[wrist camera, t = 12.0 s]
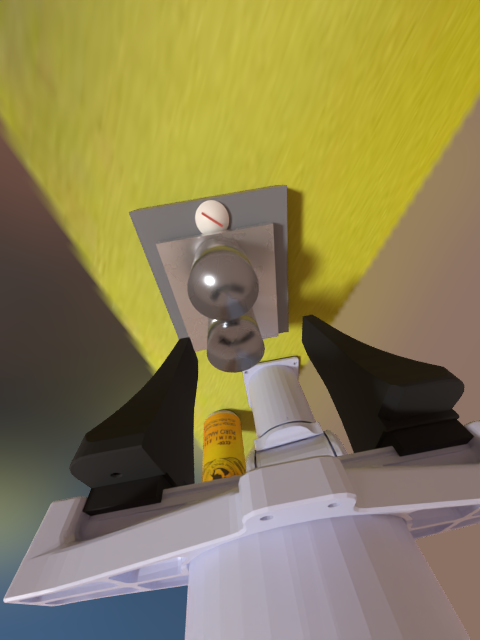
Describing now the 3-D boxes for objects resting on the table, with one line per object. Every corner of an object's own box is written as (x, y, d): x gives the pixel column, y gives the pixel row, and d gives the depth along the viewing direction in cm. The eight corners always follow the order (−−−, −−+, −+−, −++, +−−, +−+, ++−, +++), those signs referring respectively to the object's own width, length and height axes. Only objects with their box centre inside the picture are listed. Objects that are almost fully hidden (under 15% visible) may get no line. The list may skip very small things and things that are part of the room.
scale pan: (276, 331, 23) (278, 336, 22) (194, 346, 22) (194, 351, 22) (270, 222, 16) (273, 223, 16) (158, 241, 16) (155, 244, 16)
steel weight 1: (251, 284, 18) (262, 313, 14) (202, 294, 18) (198, 326, 14) (243, 231, 16) (254, 247, 12) (186, 243, 16) (177, 263, 12)
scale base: (282, 319, 26) (289, 334, 23) (185, 336, 25) (182, 353, 23) (278, 185, 18) (289, 185, 15) (138, 208, 18) (126, 213, 15)
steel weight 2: (251, 334, 21) (261, 371, 17) (208, 335, 21) (207, 373, 17) (255, 296, 19) (267, 327, 15) (207, 296, 18) (205, 329, 14)
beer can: (233, 404, 34) (245, 533, 21) (244, 422, 37) (260, 543, 25) (198, 414, 34) (190, 546, 22) (212, 432, 38) (212, 555, 25)
